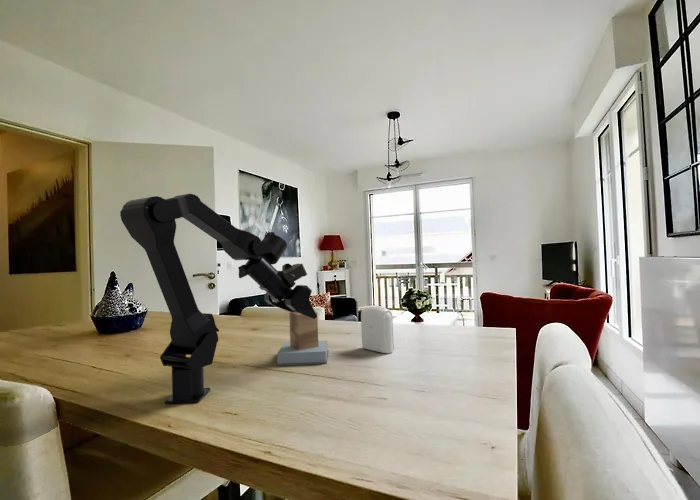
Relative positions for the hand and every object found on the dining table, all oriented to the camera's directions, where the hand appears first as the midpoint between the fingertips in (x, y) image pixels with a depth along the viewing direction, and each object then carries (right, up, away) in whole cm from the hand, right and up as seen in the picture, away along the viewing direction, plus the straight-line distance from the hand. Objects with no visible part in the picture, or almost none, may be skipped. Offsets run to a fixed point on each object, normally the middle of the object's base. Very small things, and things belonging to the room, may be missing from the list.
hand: (307, 315), depth 98 cm
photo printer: (+19, -11, +4) cm, 22 cm away
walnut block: (-1, -8, -1) cm, 8 cm away
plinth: (-1, -11, -1) cm, 11 cm away
